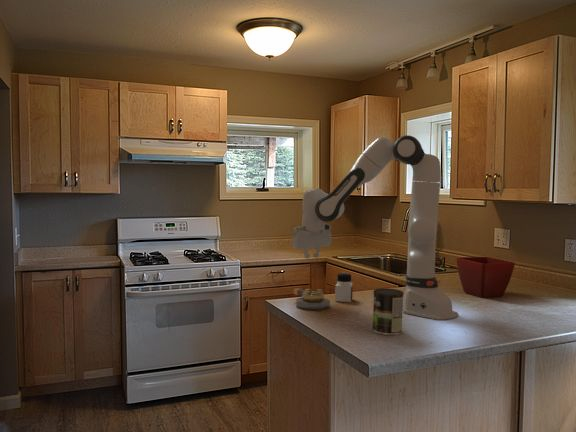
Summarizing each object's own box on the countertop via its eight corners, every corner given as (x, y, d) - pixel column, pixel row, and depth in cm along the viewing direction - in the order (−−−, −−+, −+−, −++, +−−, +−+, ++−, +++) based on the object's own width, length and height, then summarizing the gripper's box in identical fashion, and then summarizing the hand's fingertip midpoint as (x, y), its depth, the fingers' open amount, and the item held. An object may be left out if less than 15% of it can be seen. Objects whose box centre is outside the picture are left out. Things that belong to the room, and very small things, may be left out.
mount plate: (336, 307, 207) (336, 300, 207) (311, 312, 198) (311, 305, 198) (314, 300, 218) (314, 294, 218) (289, 305, 209) (289, 298, 209)
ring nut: (328, 300, 207) (328, 291, 207) (311, 302, 202) (312, 293, 202) (303, 293, 220) (303, 284, 220) (287, 295, 214) (287, 287, 214)
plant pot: (514, 297, 233) (516, 261, 232) (482, 300, 226) (484, 263, 225) (484, 289, 251) (485, 256, 250) (454, 291, 244) (455, 257, 243)
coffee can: (376, 335, 169) (377, 294, 168) (369, 327, 179) (370, 288, 178) (406, 335, 169) (407, 294, 169) (397, 326, 180) (398, 288, 179)
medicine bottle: (351, 302, 217) (351, 275, 216) (334, 301, 218) (335, 274, 217) (352, 299, 224) (353, 272, 223) (336, 298, 225) (337, 271, 224)
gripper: (298, 227, 207) (297, 260, 208) (333, 225, 220) (333, 256, 221) (288, 226, 212) (288, 258, 213) (324, 224, 225) (323, 255, 226)
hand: (311, 257), depth 217 cm, fingers open, 4 cm apart
